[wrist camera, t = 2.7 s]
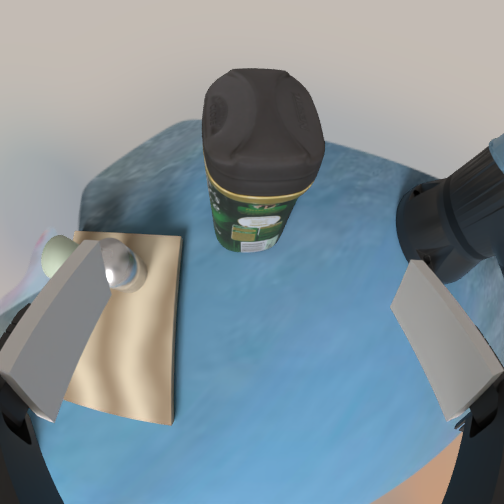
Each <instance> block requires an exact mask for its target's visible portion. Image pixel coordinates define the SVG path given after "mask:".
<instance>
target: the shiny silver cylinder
mask: <svg viewBox="0 0 504 504" xmlns="http://www.w3.org/2000/svg"><path fill="white" fill-rule="evenodd" d="M100 247H101V252H102V256H103V261H104V266H105V270H106V274H107V279H108V283H109V287H110V288H111V289H115V290H118V291H121V292H124V293H133V292H136V291H138V290H139V289H140V288H141V287H142V286H143V285H144V283H145V281H146V279H147V266H146V264H145V262H144V260H143V259H142V258H141V257H140V256H138V255H137V254H136V253H135V252H133V251H132V250H131V249H130V248H128V247H127V246H126V245H125V244H123V243H122V242H121V241H119V240H118V239H115V238H104V239H102V240H100Z"/></svg>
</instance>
